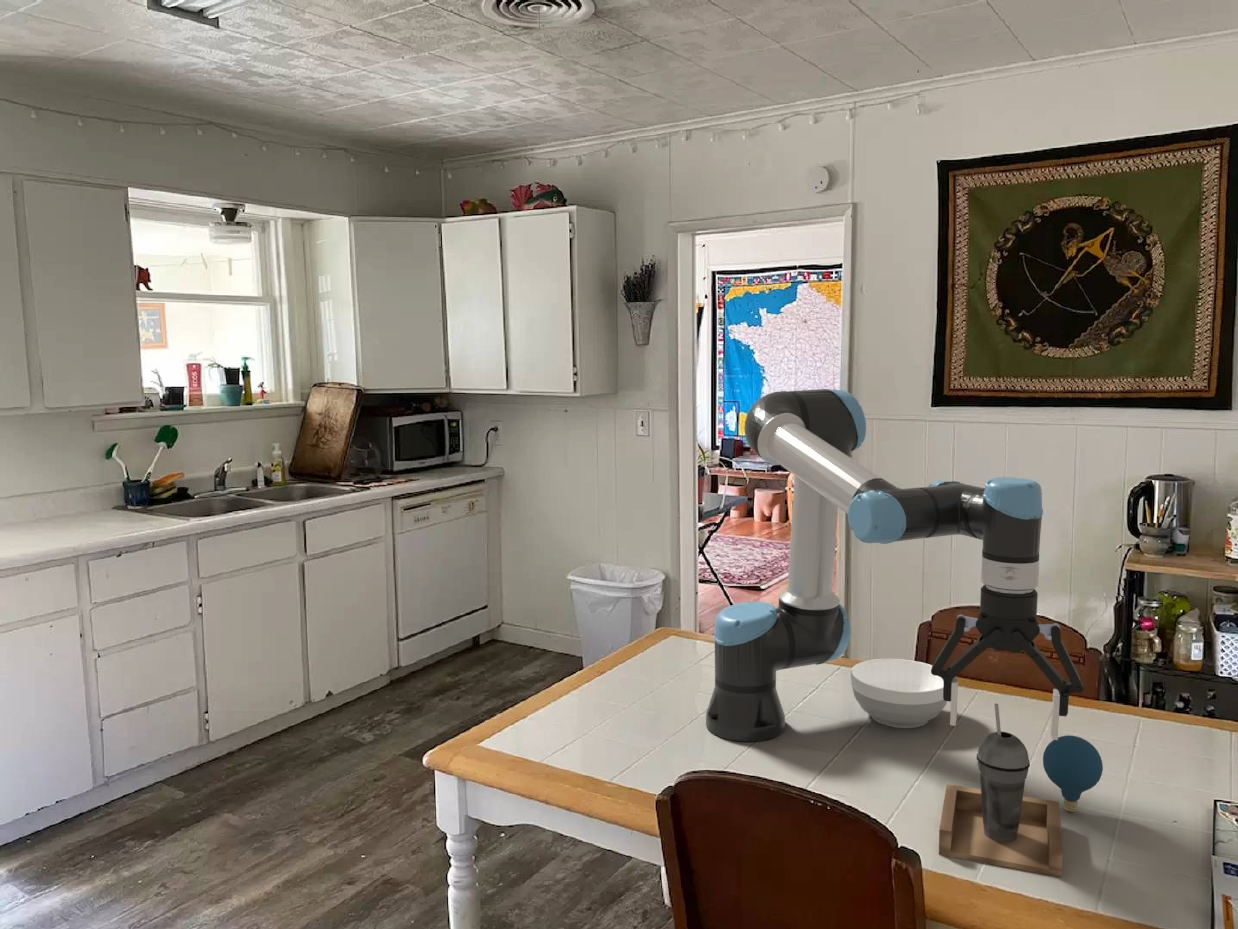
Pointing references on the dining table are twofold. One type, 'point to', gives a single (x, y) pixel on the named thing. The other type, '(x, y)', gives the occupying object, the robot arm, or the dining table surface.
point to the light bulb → (1072, 767)
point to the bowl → (898, 691)
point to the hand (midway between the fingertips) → (1002, 729)
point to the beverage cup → (1002, 782)
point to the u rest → (1028, 852)
